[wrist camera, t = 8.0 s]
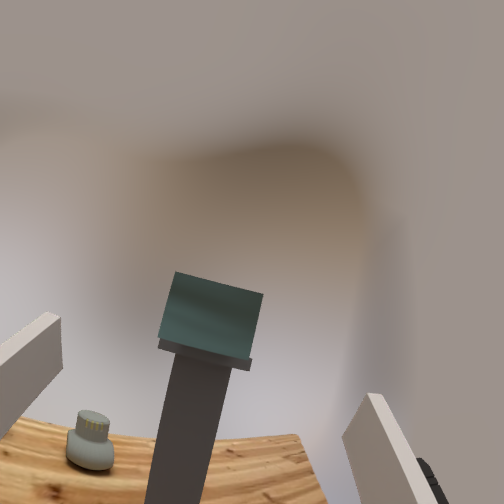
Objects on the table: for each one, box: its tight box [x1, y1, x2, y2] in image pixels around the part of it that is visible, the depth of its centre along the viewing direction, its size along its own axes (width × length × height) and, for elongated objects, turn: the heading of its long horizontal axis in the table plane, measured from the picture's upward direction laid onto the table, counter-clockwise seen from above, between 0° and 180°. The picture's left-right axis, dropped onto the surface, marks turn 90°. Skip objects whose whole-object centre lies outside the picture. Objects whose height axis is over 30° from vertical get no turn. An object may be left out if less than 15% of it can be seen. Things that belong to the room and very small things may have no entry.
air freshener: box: [66, 410, 114, 470], centre depth 41 cm, size 11×8×10 cm
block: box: [158, 272, 263, 360], centre depth 26 cm, size 26×4×3 cm, turn 7°
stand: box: [144, 338, 252, 504], centre depth 24 cm, size 16×12×28 cm
